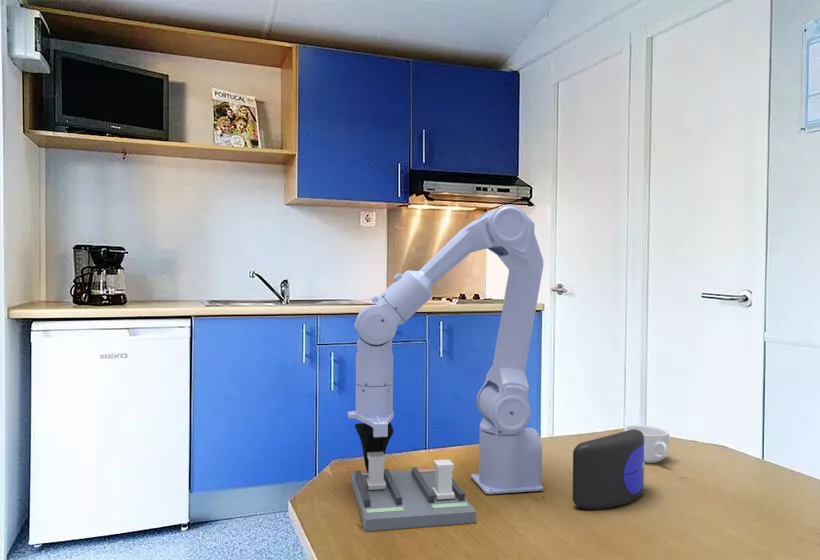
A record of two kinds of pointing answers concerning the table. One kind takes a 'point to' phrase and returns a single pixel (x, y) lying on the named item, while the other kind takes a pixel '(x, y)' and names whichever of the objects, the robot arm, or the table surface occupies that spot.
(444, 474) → the breaker
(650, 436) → the teacup
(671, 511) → the table surface
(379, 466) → the breaker
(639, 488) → the leaning round-cornered charcoal block
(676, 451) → the table surface
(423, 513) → the panel
